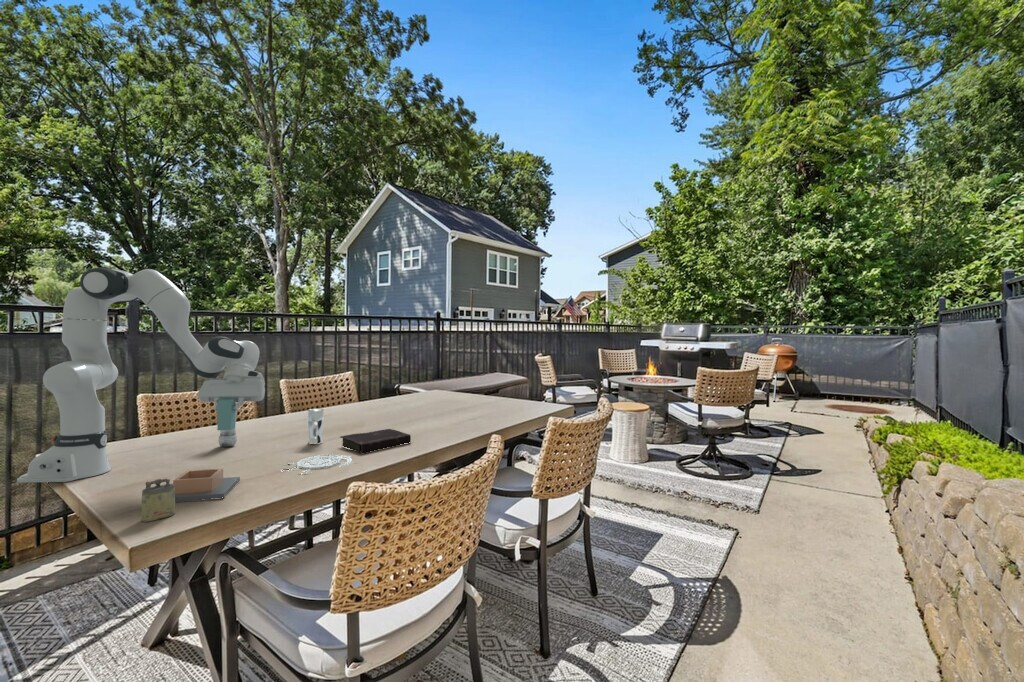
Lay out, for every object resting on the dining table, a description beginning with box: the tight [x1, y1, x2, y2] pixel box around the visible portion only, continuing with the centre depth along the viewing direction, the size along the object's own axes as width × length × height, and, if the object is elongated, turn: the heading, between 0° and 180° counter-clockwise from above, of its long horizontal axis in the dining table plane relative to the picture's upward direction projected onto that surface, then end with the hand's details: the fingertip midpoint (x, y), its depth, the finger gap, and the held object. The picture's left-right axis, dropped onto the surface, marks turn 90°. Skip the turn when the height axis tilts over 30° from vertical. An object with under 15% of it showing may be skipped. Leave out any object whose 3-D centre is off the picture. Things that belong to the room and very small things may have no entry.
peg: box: [216, 399, 237, 431], centre depth 152 cm, size 4×4×10 cm
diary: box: [339, 428, 412, 454], centre depth 198 cm, size 19×25×5 cm
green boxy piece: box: [140, 478, 176, 523], centre depth 118 cm, size 7×4×10 cm, turn 140°
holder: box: [172, 467, 241, 503], centre depth 137 cm, size 18×16×6 cm
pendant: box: [280, 453, 353, 476], centre depth 169 cm, size 21×28×1 cm
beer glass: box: [306, 408, 325, 445], centre depth 199 cm, size 7×7×15 cm
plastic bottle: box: [218, 411, 238, 448], centre depth 191 cm, size 6×7×20 cm
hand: (225, 410), depth 151 cm, fingers closed on peg, 4 cm apart
